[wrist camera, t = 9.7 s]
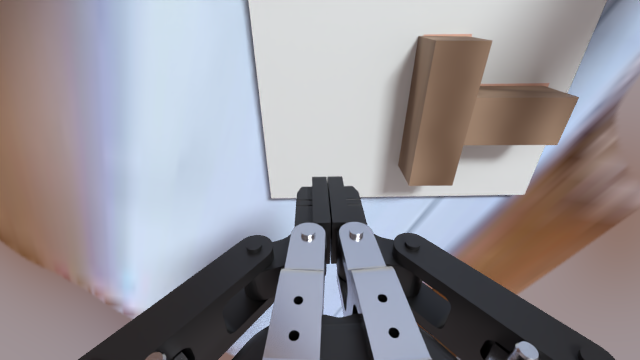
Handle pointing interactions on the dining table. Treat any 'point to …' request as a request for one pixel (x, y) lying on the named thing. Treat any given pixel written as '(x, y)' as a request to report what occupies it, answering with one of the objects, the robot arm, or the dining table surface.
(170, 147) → the dining table surface
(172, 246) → the dining table surface
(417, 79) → the tee block
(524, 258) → the dining table surface
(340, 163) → the board
